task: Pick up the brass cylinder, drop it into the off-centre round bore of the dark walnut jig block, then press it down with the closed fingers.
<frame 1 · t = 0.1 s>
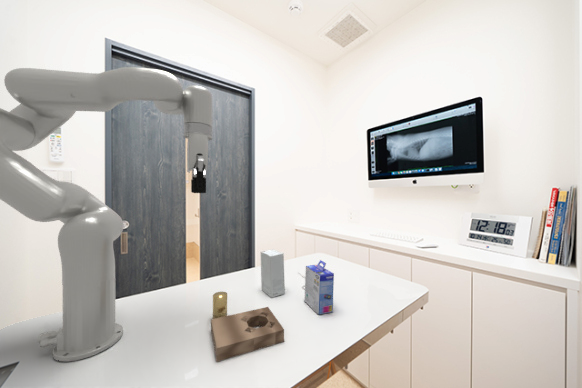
hand: (198, 192, 64), 37 cm above the table, tool pointing down, fingers open, 9 cm apart
ink cartridge box: (318, 307, 73), on the table
jig: (246, 335, 58), on the table
scissors: (309, 281, 94), on the table
skincare box: (272, 292, 83), on the table
brass cylinder: (219, 318, 66), on the table
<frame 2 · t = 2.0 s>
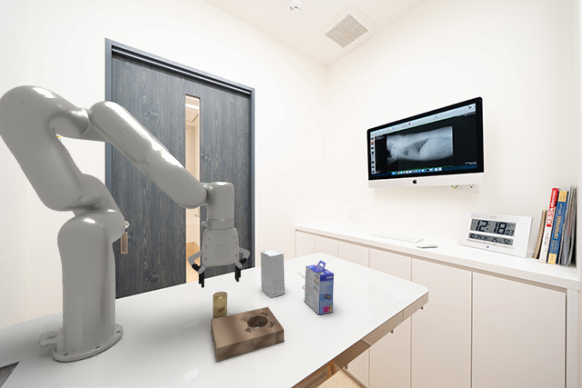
hand: (220, 283, 65), 10 cm above the table, tool pointing down, fingers open, 9 cm apart
nothing on the table moved.
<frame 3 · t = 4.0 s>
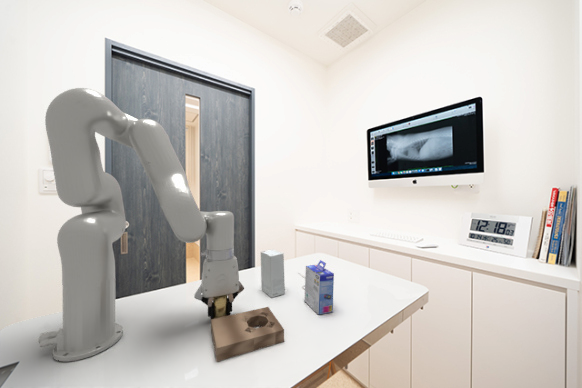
hand: (220, 315, 65), 1 cm above the table, tool pointing down, fingers closed on brass cylinder, 4 cm apart
brass cylinder: (220, 318, 66), on the table, touching gripper
everything else where it was.
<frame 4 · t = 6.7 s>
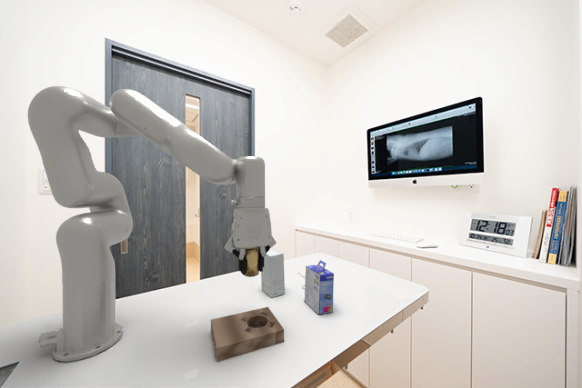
hand: (251, 271, 60), 16 cm above the table, tool pointing down, fingers closed on brass cylinder, 4 cm apart
brass cylinder: (251, 274, 60), point 15 cm above the table, touching gripper
everything else where it was.
when the fingers open (5 cm above the table, at t = 9.5 s): brass cylinder drops 4 cm, resting in jig.
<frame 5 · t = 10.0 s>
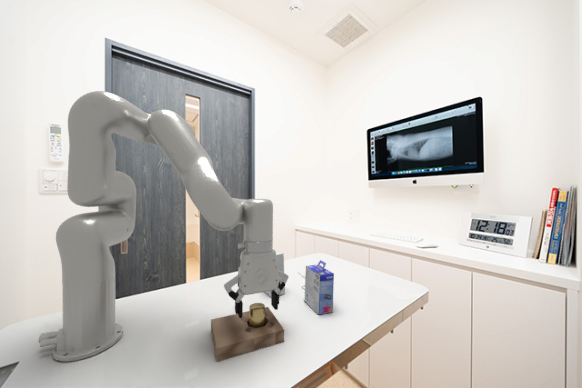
hand: (257, 311, 59), 6 cm above the table, tool pointing down, fingers open, 9 cm apart
brass cylinder: (256, 333, 59), resting in jig
everything else where it was.
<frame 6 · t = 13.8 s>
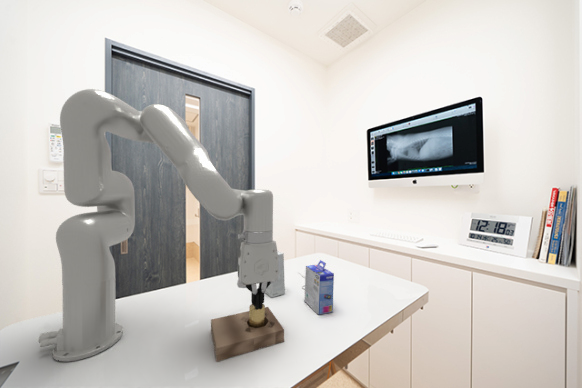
hand: (257, 306, 59), 7 cm above the table, tool pointing down, fingers closed
nothing on the table moved.
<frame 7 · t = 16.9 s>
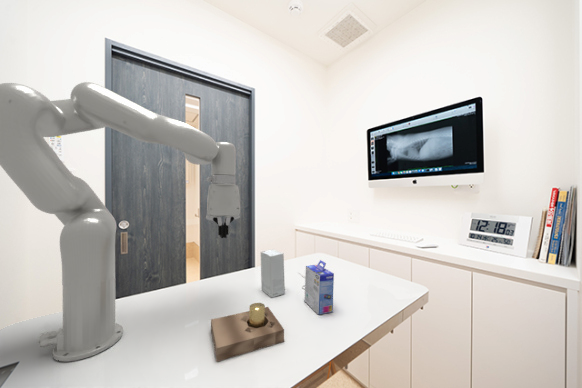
hand: (223, 237, 73), 22 cm above the table, tool pointing down, fingers closed
nothing on the table moved.
at the end: brass cylinder 0.1 cm from the target spot on the jig, point 0.0 cm above the jig's base; brass cylinder tilted 0°; the gripper is holding nothing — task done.
